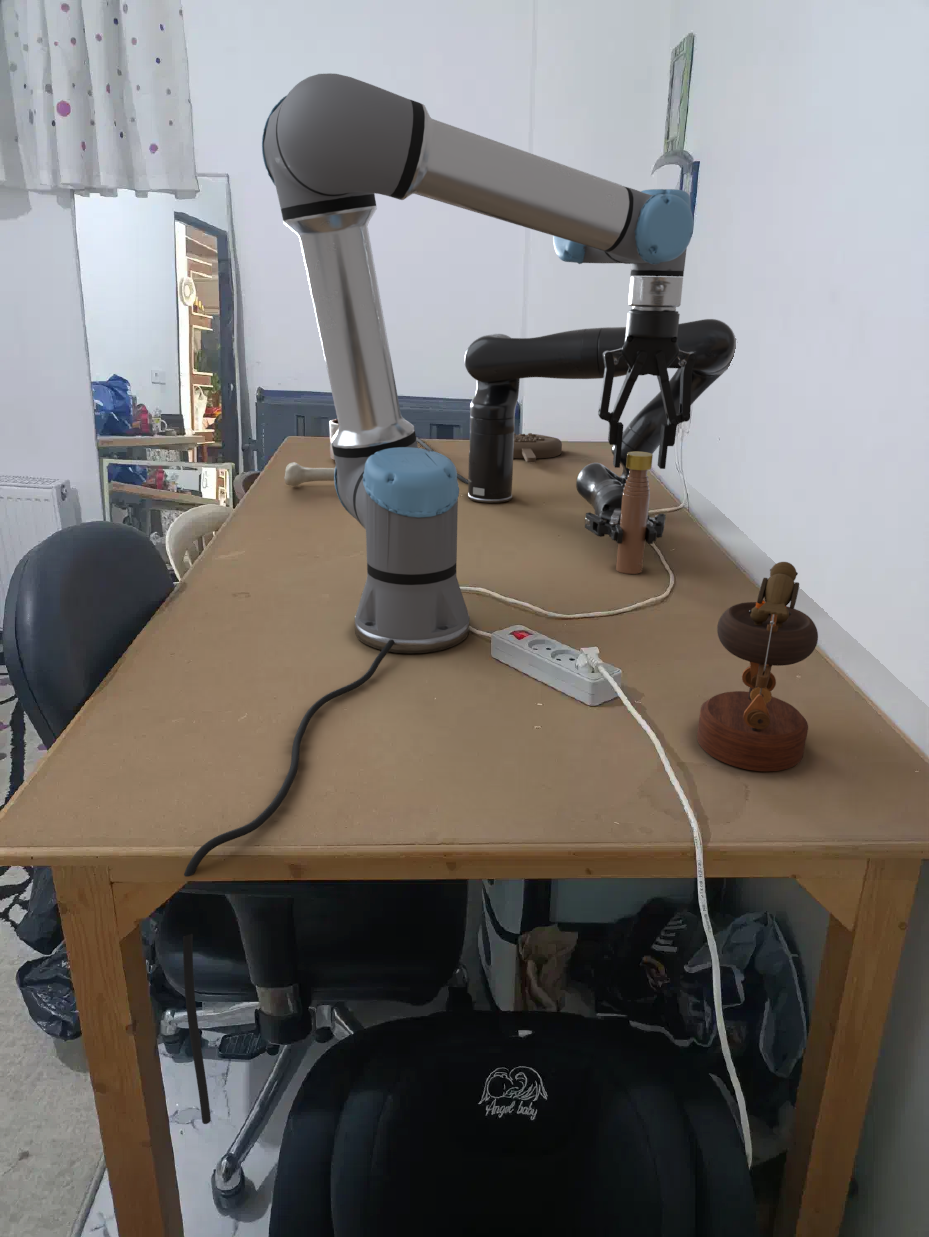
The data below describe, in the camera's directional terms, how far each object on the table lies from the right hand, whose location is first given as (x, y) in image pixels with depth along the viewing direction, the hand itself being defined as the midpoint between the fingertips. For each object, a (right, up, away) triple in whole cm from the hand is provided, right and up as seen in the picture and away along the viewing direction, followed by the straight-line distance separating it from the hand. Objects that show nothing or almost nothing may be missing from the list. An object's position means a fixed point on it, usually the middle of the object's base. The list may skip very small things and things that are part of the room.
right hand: (635, 537), depth 133 cm
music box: (+2, -26, -45) cm, 52 cm away
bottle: (0, -5, +5) cm, 7 cm away
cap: (0, +13, -2) cm, 13 cm away
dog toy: (-57, +17, +56) cm, 81 cm away
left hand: (0, +11, -2) cm, 11 cm away
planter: (-56, +27, +81) cm, 102 cm away
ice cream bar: (-11, +29, +88) cm, 93 cm away
